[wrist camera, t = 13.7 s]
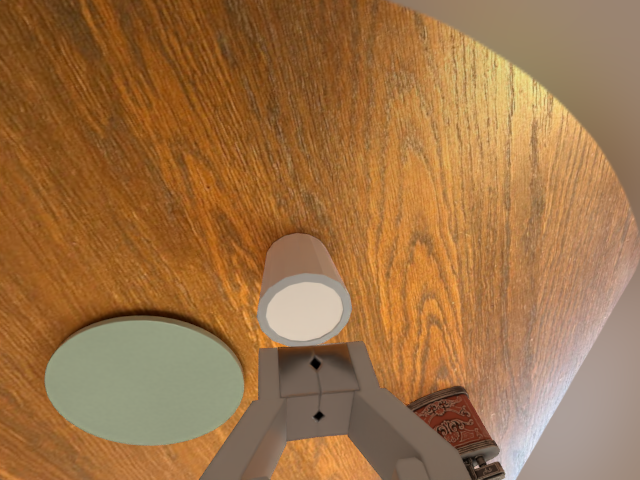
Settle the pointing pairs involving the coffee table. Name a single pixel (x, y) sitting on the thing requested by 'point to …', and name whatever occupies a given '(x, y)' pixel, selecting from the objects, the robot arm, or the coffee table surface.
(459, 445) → the lighter
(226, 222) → the coffee table surface
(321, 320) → the shot glass
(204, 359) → the plate
